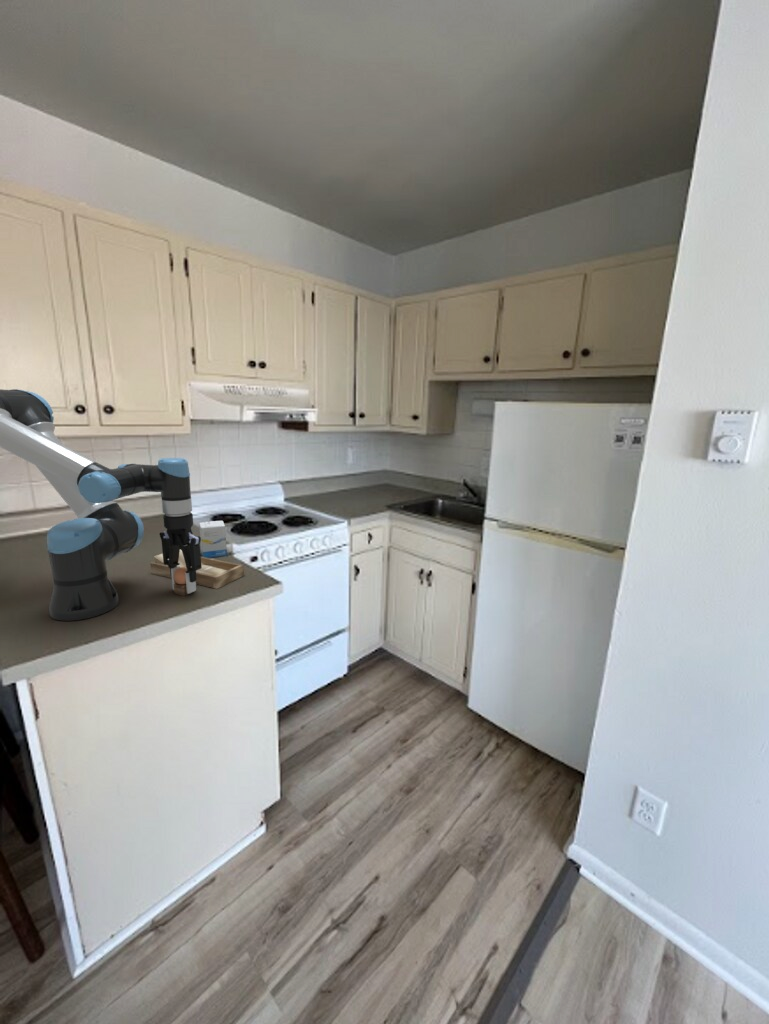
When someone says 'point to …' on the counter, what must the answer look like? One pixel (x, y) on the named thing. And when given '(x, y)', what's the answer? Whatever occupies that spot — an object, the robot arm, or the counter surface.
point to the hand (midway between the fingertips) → (184, 589)
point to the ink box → (213, 539)
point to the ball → (180, 575)
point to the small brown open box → (180, 589)
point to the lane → (203, 570)
